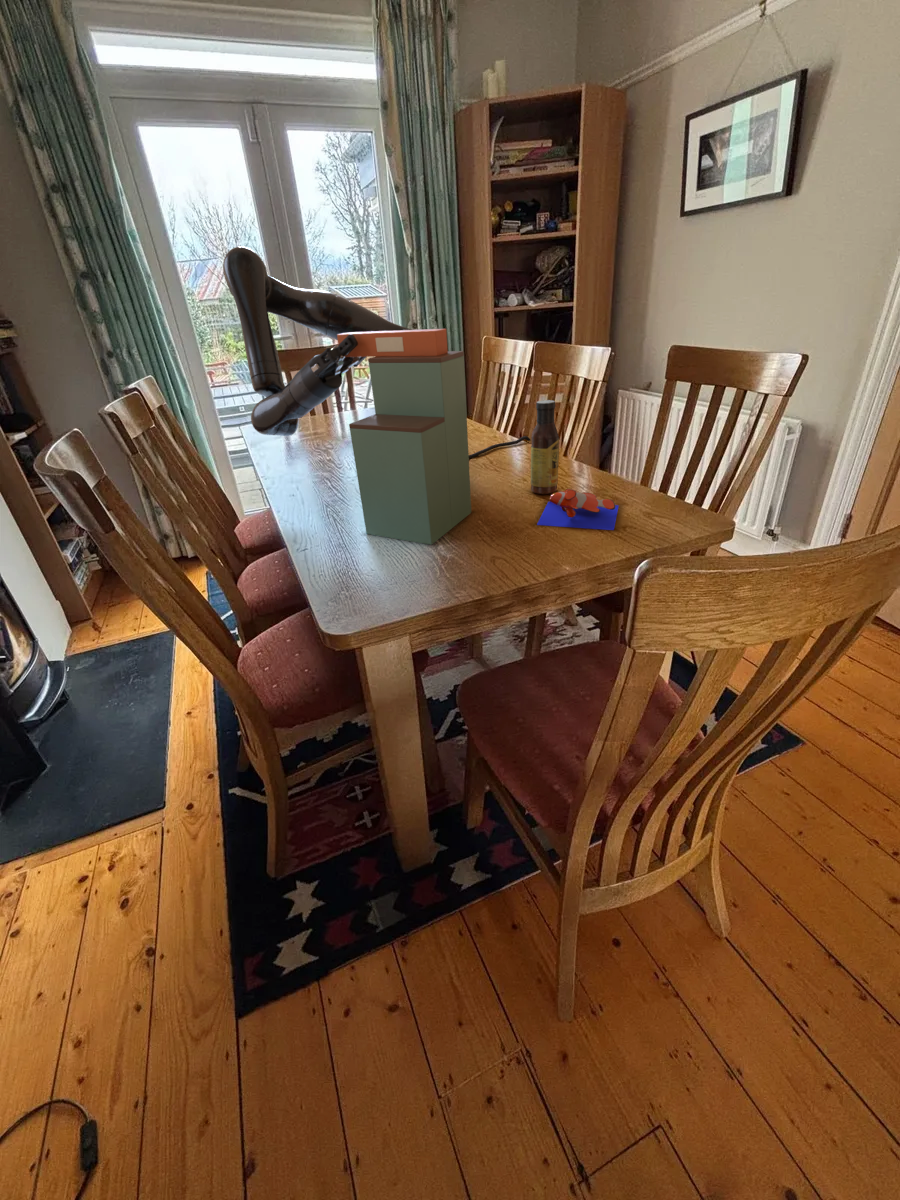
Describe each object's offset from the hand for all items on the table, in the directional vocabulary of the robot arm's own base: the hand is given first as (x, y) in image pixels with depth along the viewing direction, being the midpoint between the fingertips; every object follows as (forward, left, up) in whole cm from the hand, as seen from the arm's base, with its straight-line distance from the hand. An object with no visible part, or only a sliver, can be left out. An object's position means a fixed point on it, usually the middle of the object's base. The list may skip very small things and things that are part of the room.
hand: (364, 337), depth 102 cm
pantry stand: (0, +12, -35) cm, 37 cm away
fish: (-24, +35, -35) cm, 55 cm away
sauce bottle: (-31, +20, -35) cm, 51 cm away
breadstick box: (-2, +6, -3) cm, 7 cm away
